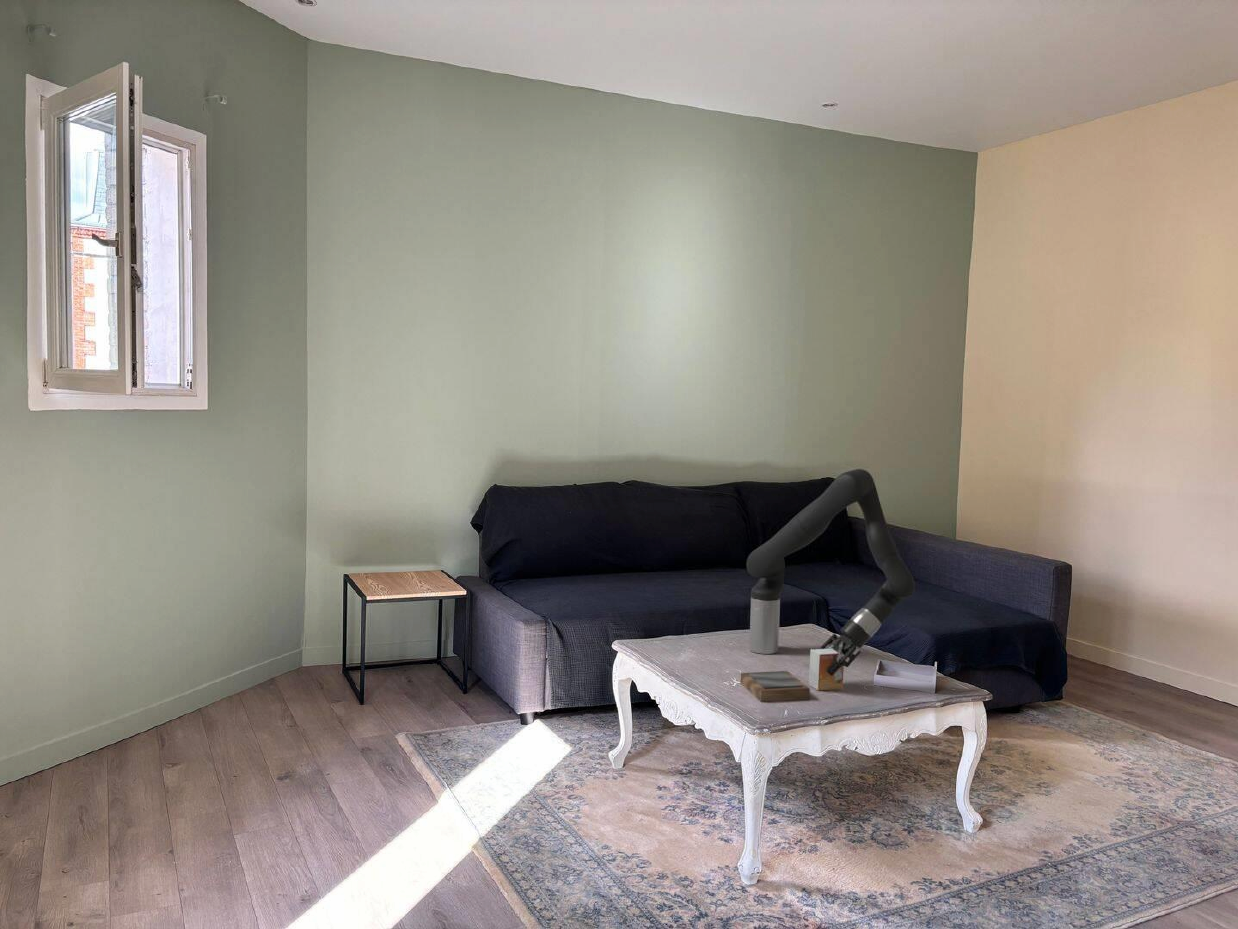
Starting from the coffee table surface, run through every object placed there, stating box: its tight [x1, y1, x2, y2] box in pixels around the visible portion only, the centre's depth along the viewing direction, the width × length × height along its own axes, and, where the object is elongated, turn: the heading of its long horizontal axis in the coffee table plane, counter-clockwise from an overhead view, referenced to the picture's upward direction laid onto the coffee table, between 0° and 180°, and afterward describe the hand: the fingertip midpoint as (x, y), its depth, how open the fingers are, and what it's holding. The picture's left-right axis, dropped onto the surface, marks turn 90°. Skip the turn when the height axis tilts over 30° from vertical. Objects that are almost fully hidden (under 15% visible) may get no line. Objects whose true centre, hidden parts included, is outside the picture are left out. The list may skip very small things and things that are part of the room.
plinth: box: [740, 670, 811, 703], centre depth 263 cm, size 16×14×3 cm
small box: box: [808, 648, 845, 691], centre depth 267 cm, size 8×6×10 cm
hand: (822, 669), depth 267 cm, fingers open, 8 cm apart
